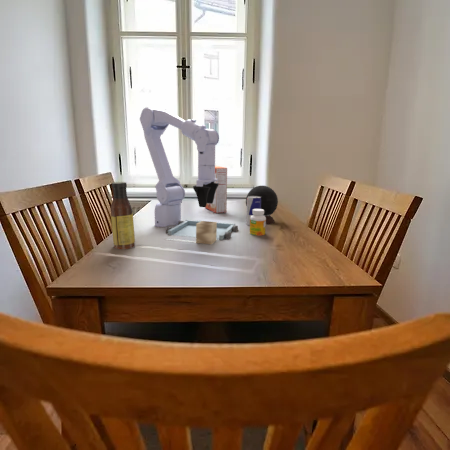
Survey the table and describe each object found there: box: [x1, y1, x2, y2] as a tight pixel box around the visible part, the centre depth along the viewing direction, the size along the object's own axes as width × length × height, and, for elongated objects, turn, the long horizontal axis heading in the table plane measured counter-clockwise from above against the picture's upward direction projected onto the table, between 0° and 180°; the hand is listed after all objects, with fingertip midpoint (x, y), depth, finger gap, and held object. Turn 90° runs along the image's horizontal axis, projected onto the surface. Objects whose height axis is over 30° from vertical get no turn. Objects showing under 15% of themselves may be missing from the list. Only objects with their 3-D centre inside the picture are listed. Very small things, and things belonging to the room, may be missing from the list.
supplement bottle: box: [249, 209, 267, 237], centre depth 117 cm, size 5×5×10 cm
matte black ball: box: [245, 185, 279, 225], centre depth 141 cm, size 13×13×15 cm
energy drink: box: [245, 196, 261, 227], centre depth 130 cm, size 5×5×12 cm
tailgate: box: [164, 237, 215, 245], centre depth 108 cm, size 16×2×5 cm
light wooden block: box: [195, 220, 217, 245], centre depth 106 cm, size 5×5×6 cm
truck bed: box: [165, 219, 239, 241], centre depth 118 cm, size 22×18×3 cm
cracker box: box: [204, 165, 228, 214], centre depth 161 cm, size 14×6×21 cm, turn 25°
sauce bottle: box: [110, 181, 136, 250], centre depth 101 cm, size 7×6×20 cm
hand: (206, 205), depth 119 cm, fingers open, 7 cm apart
